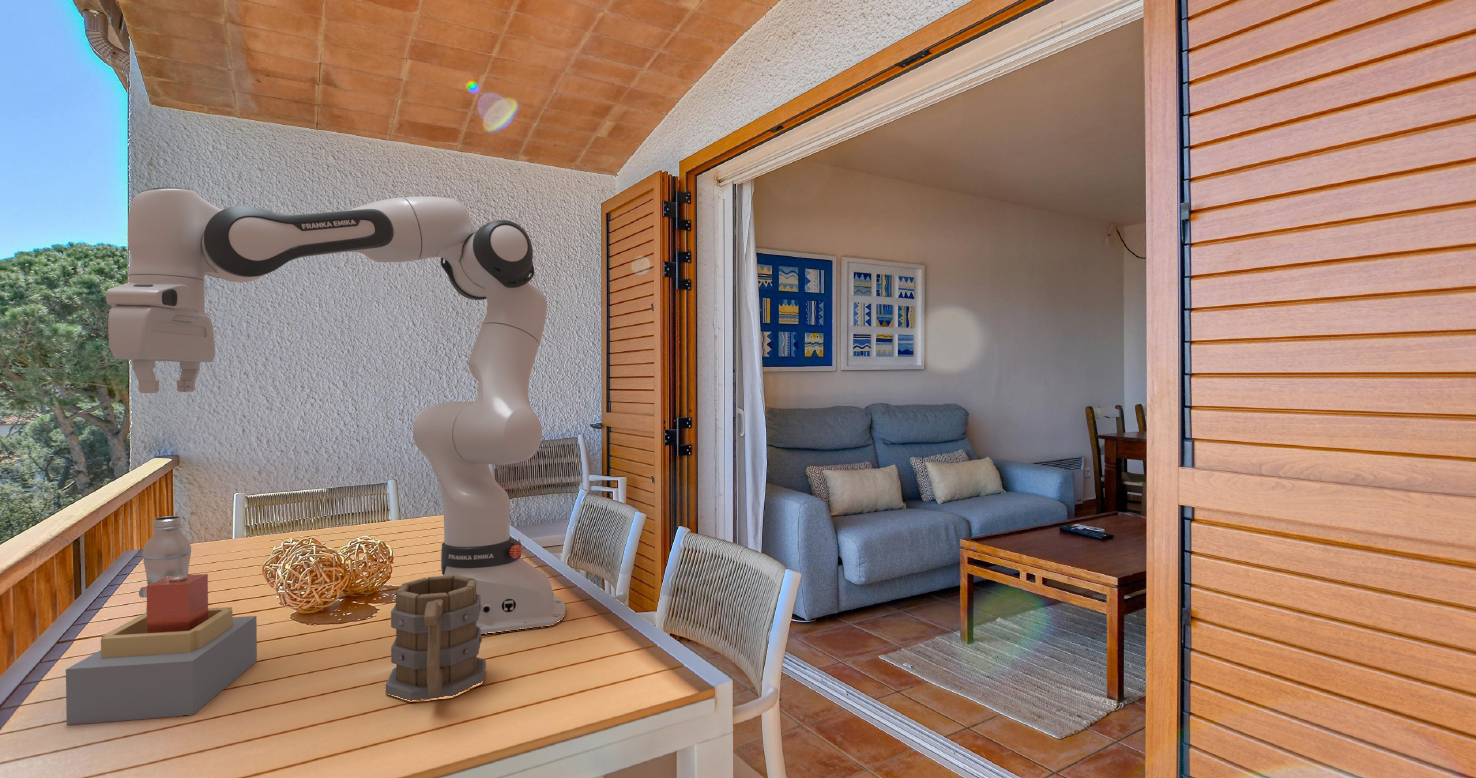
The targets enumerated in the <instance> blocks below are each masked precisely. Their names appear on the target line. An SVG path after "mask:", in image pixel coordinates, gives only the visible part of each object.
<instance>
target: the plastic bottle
mask: <svg viewBox="0 0 1476 778" xmlns="http://www.w3.org/2000/svg"><path fill="white" fill-rule="evenodd" d="M182 527H183V526H182V518H181V516H179V515H174V516H173V515H168V516H162V517H161V516H160V517H155V518H153V521H152V528H151V530H152V532H154V533H153V535H151V537H150V538H149V539H148V540H147V542H146V544H145V545H144V546H143V550H142V552H141V554H142V559H143V565H144V570H145V575H146V585H149V584H151V583H154V582H156V581H158V580H160V579H162V578H164V577H167V576H175V575H189V568H190V561H191V556H192V554H191V553H192V545H191V543H190V540H188V538H187V537H186V536H185V535H184V534H183V533H182V532H181V531H180V529H182ZM145 611H146V612H145V613H144V614H147V606H146V609H145Z"/></svg>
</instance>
